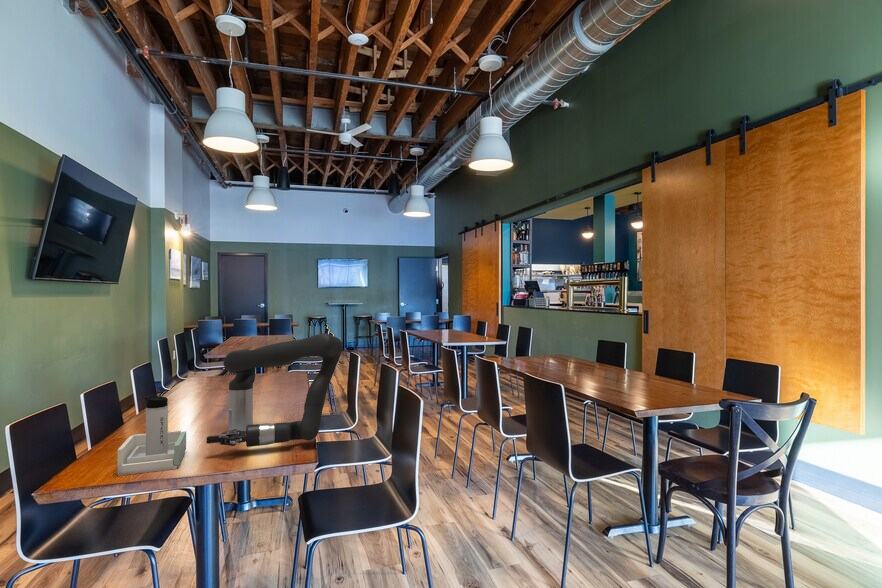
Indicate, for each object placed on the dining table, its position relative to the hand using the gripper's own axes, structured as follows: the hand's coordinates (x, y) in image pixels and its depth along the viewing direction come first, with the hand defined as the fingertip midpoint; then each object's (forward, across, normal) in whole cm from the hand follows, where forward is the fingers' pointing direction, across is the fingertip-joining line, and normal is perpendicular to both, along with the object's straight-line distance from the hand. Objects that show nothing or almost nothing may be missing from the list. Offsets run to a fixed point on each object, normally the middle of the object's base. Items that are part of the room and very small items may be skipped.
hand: (206, 440), depth 161 cm
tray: (+14, 0, +5) cm, 15 cm away
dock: (+16, 0, +6) cm, 17 cm away
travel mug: (+15, 0, +4) cm, 16 cm away
